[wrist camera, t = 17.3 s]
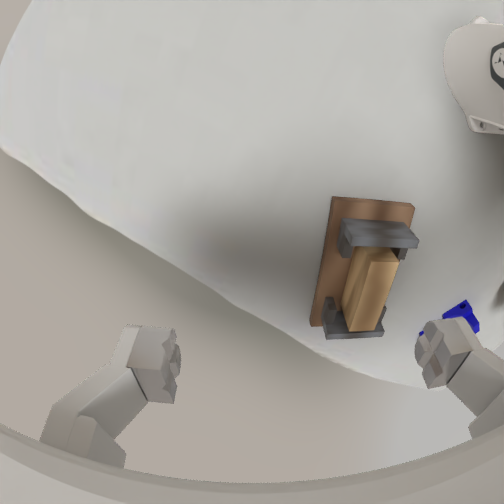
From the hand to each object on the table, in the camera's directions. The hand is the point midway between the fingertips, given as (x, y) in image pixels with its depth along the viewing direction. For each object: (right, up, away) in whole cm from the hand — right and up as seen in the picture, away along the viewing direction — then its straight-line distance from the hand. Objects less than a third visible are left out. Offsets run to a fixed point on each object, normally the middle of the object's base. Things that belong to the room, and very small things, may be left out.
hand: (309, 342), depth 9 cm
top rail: (+14, 0, +33) cm, 36 cm away
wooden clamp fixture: (+14, 0, +35) cm, 37 cm away
